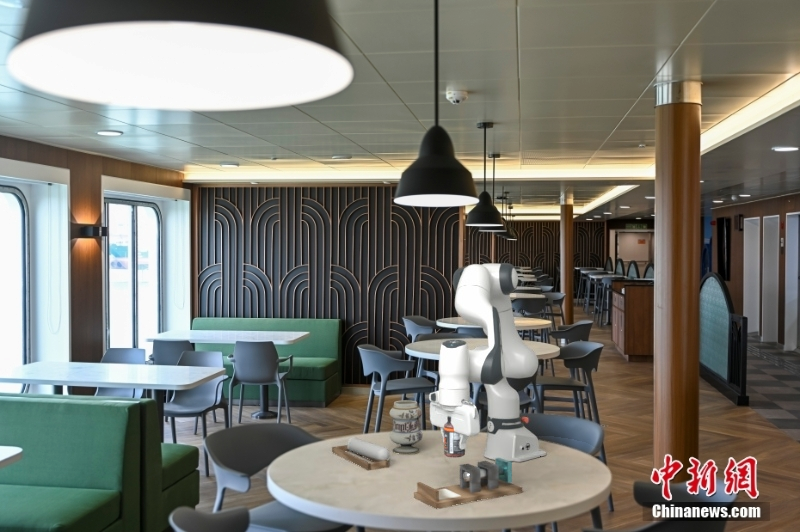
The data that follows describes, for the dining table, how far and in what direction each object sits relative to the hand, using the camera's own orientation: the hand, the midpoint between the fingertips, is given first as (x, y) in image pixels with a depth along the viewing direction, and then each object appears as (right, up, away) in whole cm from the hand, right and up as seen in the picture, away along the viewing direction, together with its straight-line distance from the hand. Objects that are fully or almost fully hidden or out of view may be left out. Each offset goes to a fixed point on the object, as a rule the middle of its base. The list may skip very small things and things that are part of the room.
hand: (454, 446), depth 209 cm
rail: (+4, -15, +5) cm, 17 cm away
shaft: (+10, -13, +8) cm, 18 cm away
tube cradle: (-30, -16, +46) cm, 57 cm away
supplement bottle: (0, -3, 0) cm, 3 cm away
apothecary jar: (-13, -16, +58) cm, 62 cm away
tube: (-29, -13, +46) cm, 56 cm away
